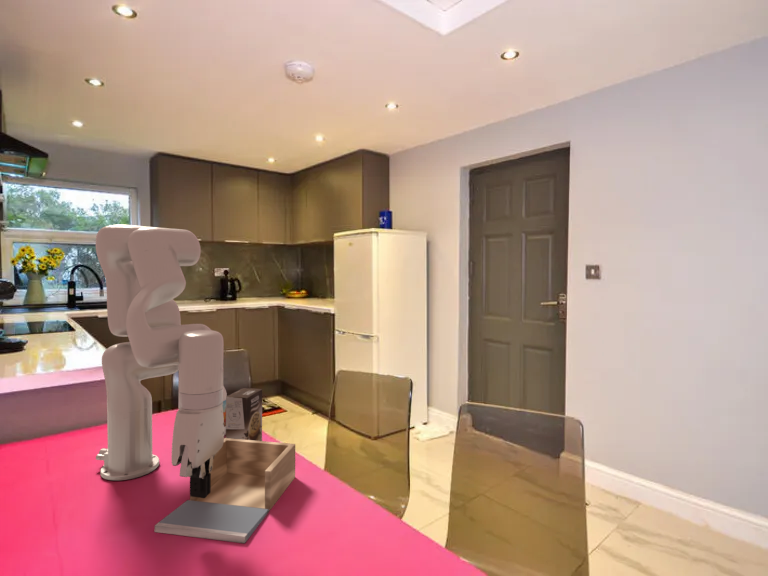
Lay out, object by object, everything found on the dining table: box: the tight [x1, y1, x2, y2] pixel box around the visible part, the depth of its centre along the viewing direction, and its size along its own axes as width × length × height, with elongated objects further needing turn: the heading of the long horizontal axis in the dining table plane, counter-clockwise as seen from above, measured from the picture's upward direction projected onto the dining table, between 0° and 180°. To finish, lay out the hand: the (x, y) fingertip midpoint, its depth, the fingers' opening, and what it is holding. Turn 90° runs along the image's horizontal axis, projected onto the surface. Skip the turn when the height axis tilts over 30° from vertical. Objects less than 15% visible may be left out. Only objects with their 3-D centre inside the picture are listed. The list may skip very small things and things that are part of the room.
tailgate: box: [153, 499, 271, 544], centre depth 84 cm, size 18×1×11 cm
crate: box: [189, 437, 296, 511], centre depth 97 cm, size 18×14×9 cm
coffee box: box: [225, 387, 263, 441], centre depth 119 cm, size 9×6×16 cm
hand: (200, 494), depth 80 cm, fingers closed
